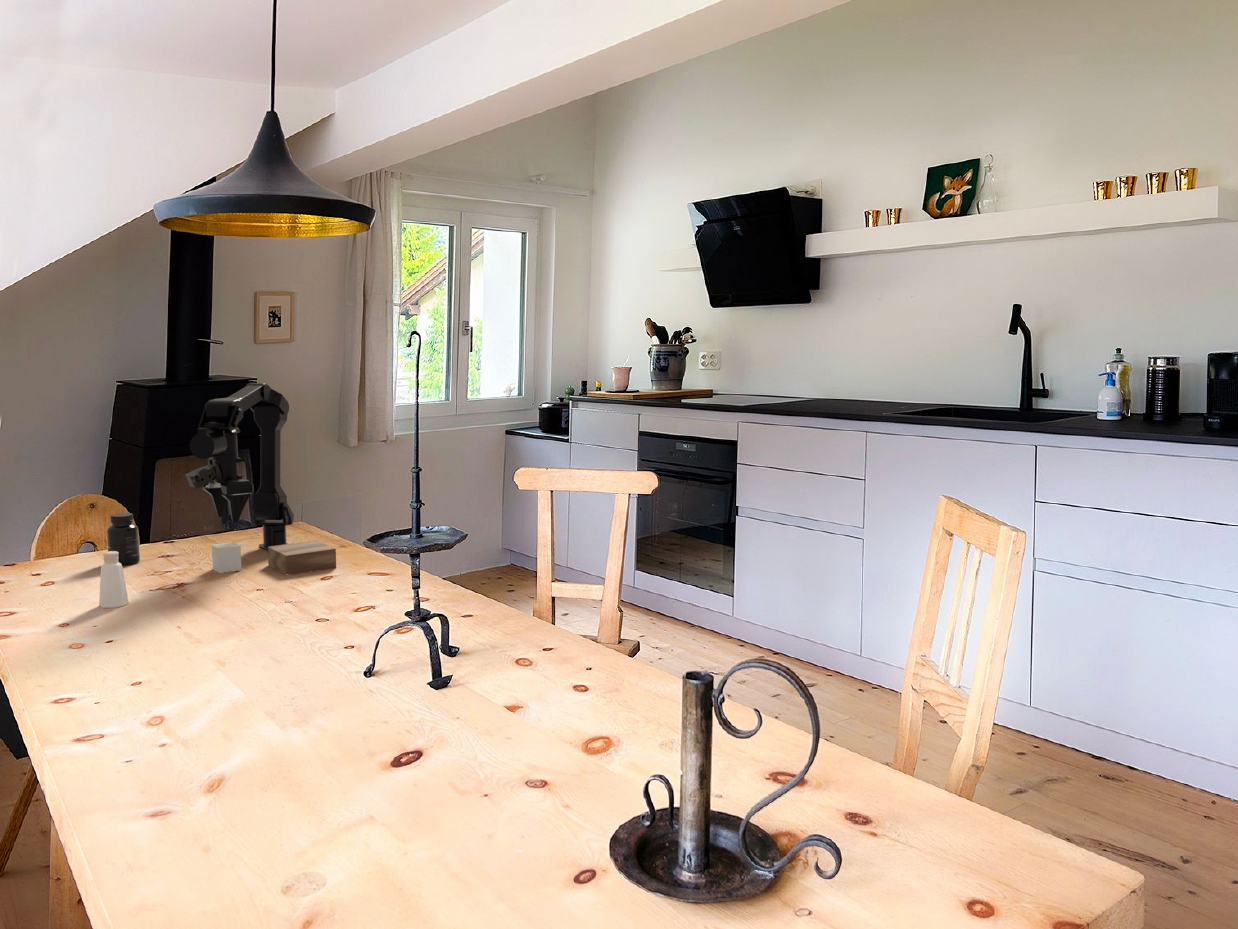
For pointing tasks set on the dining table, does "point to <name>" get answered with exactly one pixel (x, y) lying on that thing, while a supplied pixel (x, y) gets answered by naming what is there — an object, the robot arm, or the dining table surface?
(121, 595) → the salt shaker
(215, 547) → the grey block
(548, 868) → the dining table surface
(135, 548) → the supplement bottle
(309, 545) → the walnut box
